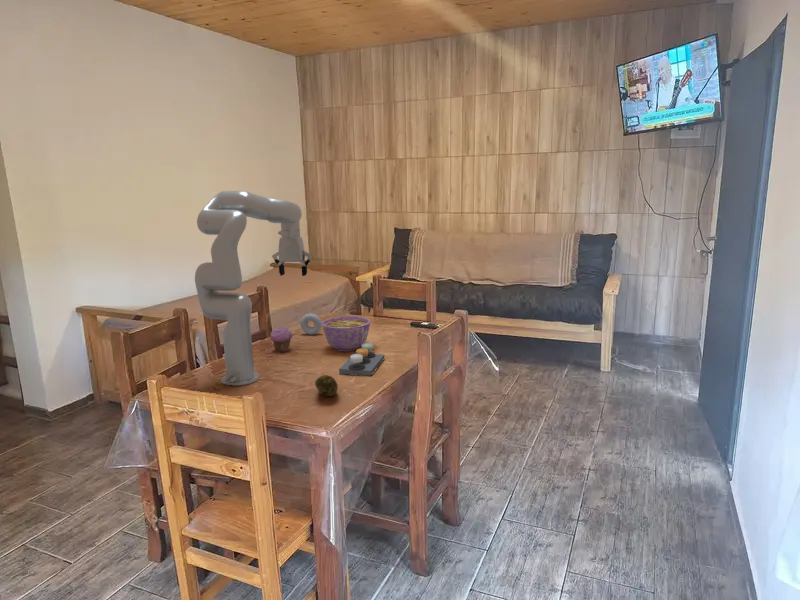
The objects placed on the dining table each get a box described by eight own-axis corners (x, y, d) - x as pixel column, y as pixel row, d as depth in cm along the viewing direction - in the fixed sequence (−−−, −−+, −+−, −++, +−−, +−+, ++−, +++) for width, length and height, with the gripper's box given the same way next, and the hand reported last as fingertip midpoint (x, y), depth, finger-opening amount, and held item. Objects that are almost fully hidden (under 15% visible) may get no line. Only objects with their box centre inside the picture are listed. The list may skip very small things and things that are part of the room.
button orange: (366, 357, 208) (366, 352, 208) (354, 356, 209) (354, 351, 209) (369, 353, 212) (369, 348, 212) (358, 353, 213) (358, 348, 213)
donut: (299, 335, 256) (298, 314, 254) (301, 333, 259) (300, 312, 257) (321, 335, 255) (320, 314, 253) (323, 333, 258) (322, 312, 256)
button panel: (370, 376, 201) (370, 369, 200) (338, 374, 204) (338, 367, 203) (384, 359, 220) (384, 352, 219) (355, 357, 223) (355, 351, 222)
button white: (360, 363, 202) (360, 358, 201) (349, 362, 203) (348, 357, 202) (364, 359, 206) (364, 354, 205) (352, 358, 207) (352, 353, 206)
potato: (344, 389, 190) (343, 366, 188) (335, 404, 177) (333, 380, 175) (320, 388, 191) (319, 366, 189) (309, 403, 178) (308, 379, 177)
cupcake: (267, 353, 231) (266, 329, 229) (277, 347, 239) (275, 324, 237) (287, 354, 229) (286, 330, 227) (296, 348, 237) (295, 325, 235)
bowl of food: (377, 352, 229) (376, 324, 227) (330, 358, 222) (328, 330, 220) (362, 339, 247) (361, 314, 245) (318, 345, 240) (316, 319, 238)
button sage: (371, 351, 215) (371, 346, 214) (360, 351, 216) (360, 346, 215) (374, 348, 219) (374, 343, 219) (363, 347, 220) (363, 342, 220)
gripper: (267, 234, 229) (270, 276, 232) (307, 234, 225) (309, 277, 229) (274, 233, 236) (277, 273, 239) (314, 233, 232) (316, 274, 236)
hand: (293, 275), depth 234 cm, fingers open, 9 cm apart
